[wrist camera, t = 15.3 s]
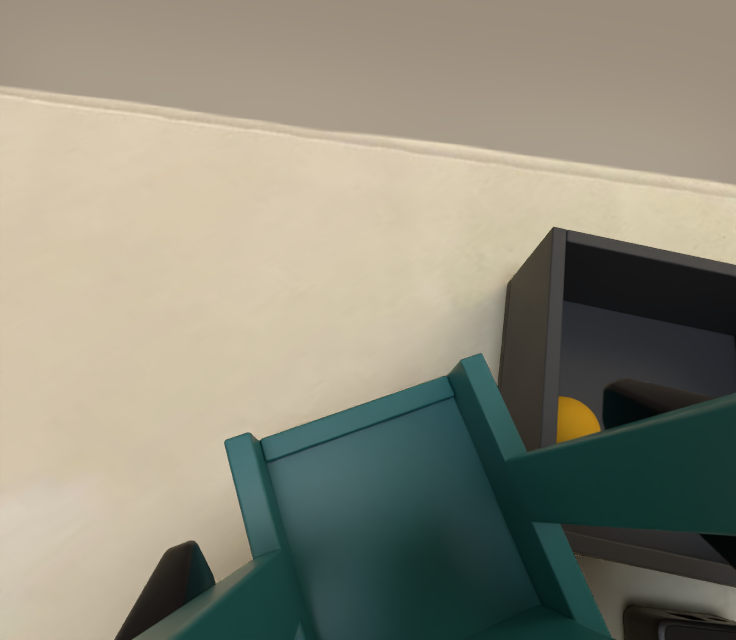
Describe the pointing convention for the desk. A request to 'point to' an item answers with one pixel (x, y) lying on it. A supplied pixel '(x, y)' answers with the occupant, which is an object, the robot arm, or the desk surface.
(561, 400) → the toy ball
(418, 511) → the tray with tall posts
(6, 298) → the desk surface
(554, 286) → the bin
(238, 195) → the desk surface
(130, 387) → the desk surface
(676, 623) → the multiport hub
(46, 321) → the desk surface
